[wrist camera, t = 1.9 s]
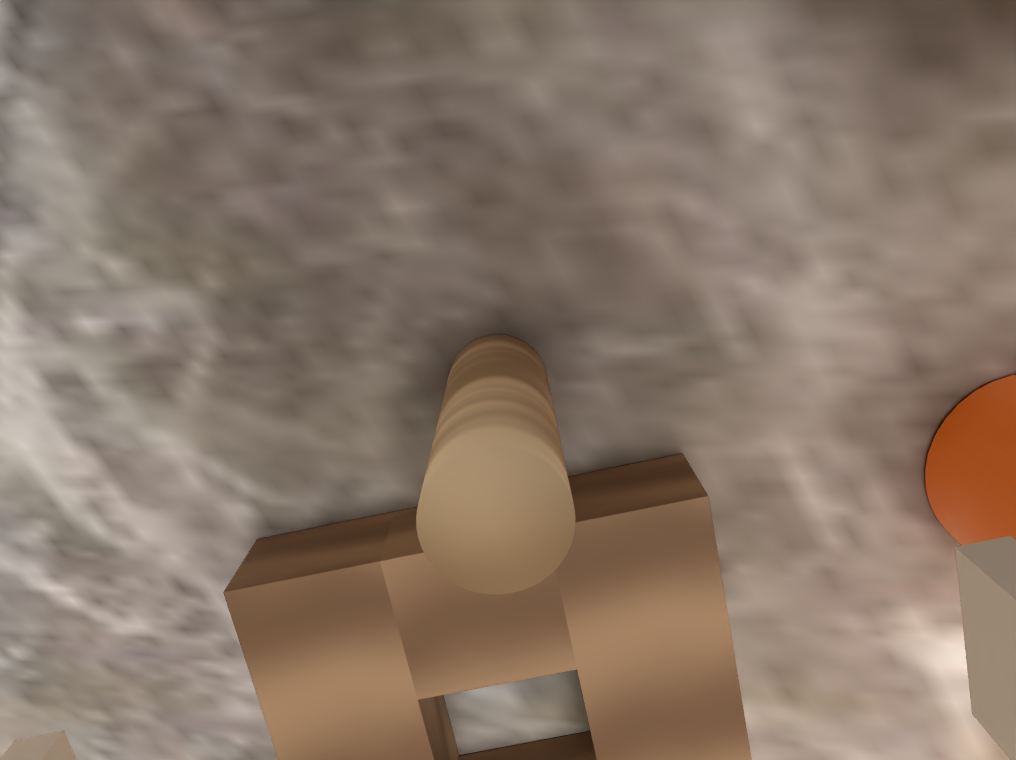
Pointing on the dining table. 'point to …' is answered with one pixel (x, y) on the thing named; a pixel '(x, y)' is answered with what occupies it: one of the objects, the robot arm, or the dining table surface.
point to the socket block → (499, 632)
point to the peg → (496, 473)
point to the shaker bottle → (976, 466)
